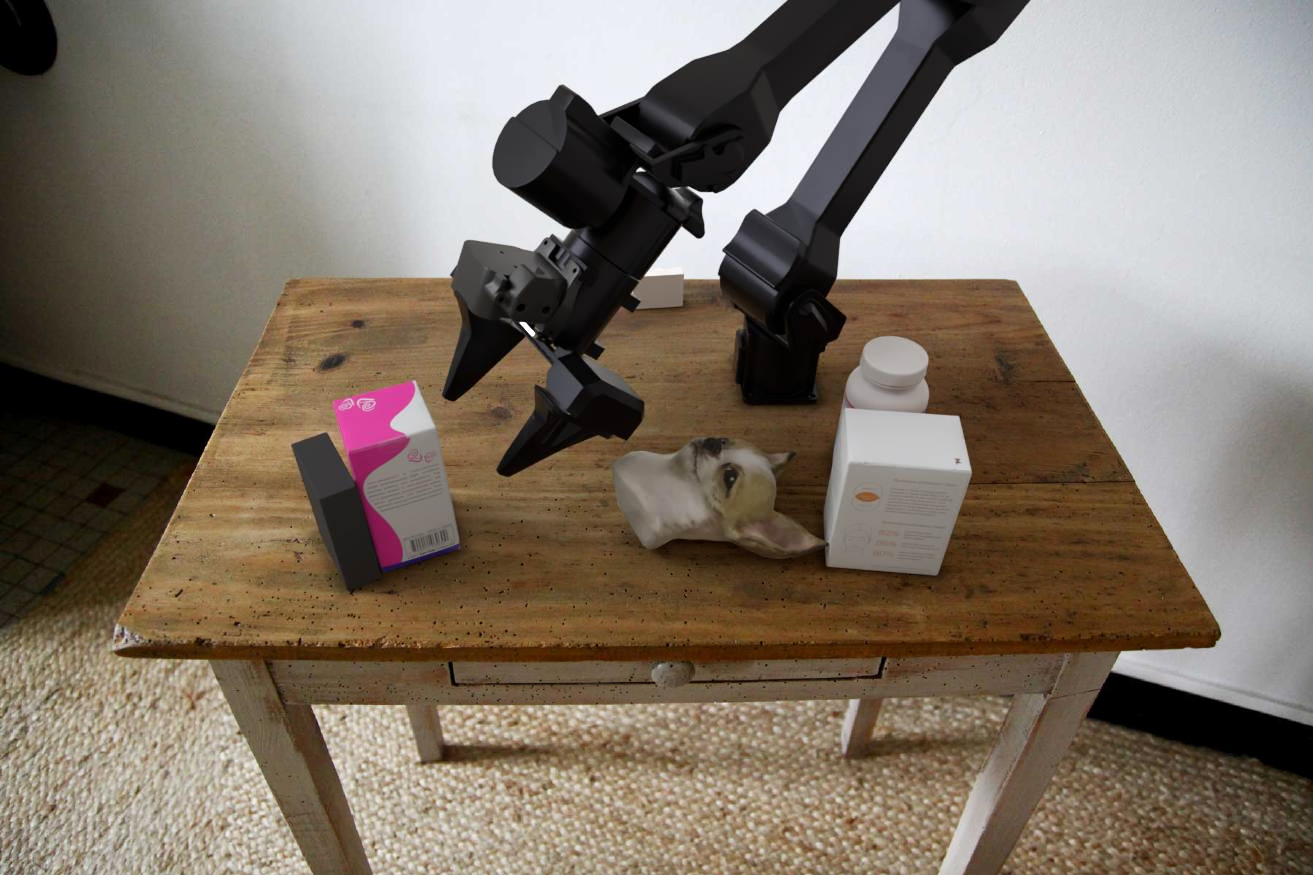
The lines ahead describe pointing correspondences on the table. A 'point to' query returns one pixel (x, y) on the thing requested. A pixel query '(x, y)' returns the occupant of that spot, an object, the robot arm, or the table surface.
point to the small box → (894, 490)
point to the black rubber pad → (337, 510)
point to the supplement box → (398, 474)
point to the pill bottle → (888, 378)
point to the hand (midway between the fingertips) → (473, 435)
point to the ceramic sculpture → (710, 497)
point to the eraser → (661, 288)
